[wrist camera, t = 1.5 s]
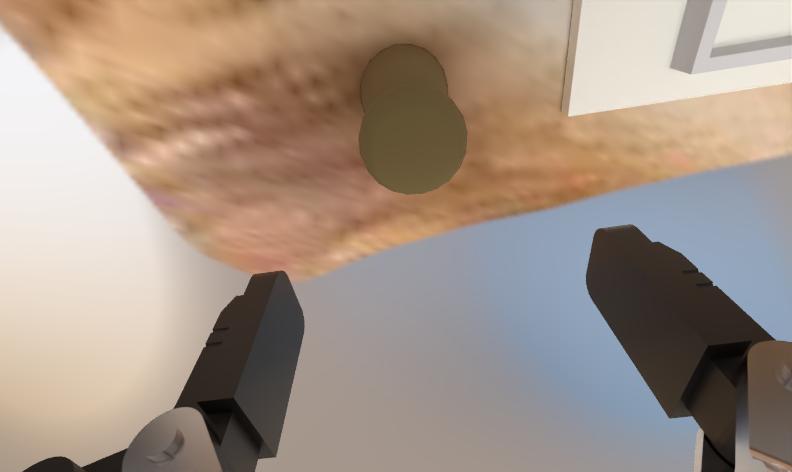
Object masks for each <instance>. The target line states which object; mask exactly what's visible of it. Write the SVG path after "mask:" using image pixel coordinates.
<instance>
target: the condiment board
mask: <svg viewBox="0 0 792 472" xmlns="http://www.w3.org/2000/svg"><path fill="white" fill-rule="evenodd" d="M785 83H792V0H574V1H573V10H572V19H571V28H570V37H569V46H568V55H567V64H566V73H565V82H564V91H563V100H562V109H561V112H563V113H564V114H565V115H567V116H568V117H569V116H576V115H582V114H589V113H595V112H602V111H608V110H615V109H621V108H628V107H634V106H641V105H648V104H654V103H661V102H667V101H674V100H680V99H687V98H693V97H700V96H706V95H713V94H720V93H726V92H733V91H739V90H746V89H752V88H759V87H765V86H772V85H778V84H785Z"/></svg>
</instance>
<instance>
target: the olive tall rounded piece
mask: <svg viewBox="0 0 792 472" xmlns="http://www.w3.org/2000/svg"><path fill="white" fill-rule="evenodd" d="M360 93H361V103H362V106H363V109H364V112H365V115H364V117H363V120H362V124H361V129H360V133H359V147H360V155H361V157H362V159H363V161H364V164H365V166H366V168H367V170H368V172H369V173H370V174H371V175H372V176H373V177H374V179H375V180H376V181H377V182H378V183H379V184H381V185H383V186H384V187H386V188H388V189H389V190H391V191H394V192H399V193H403V194H423V193H426V192H429V191H432V190H435V189H437V188H439V187H440V186H442V185H443V184H444V183H446V182H447V181H449V180H450V179H451V178H452V176H453V175H454V174H455V173H456V172H457V170H458V169H459V168H460V166H461V163H462V161H463V158H464V156H465V153H466V145H467V129H466V125H465V122H464V118H463V115H462V114H461V112H460V111H459V109H458V108H457V106H456V105H455V103H454V102H453V101H452V99H451V98H450V97H448V86H447V80H446V77H445V73H444V69H443V68H442V66H441V65H440V63H439V62H438V60H437V59H436V57H434V56H433V55H432V54H431V53H429V52H428V51H427V50H425V49H424V48H421V47H418V46H414V45H411V44H401V45H394V46H391V47H389V48H386V49H384V50H382V51H380V52H379V53H378V54H377V55H376V56H375V57H374V58H373V59H372V60H370V62H369V64H368V66H367V67H366V69H365V71H364V73H363V76H362V81H361V85H360Z"/></svg>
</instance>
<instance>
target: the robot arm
mask: <svg viewBox="0 0 792 472" xmlns="http://www.w3.org/2000/svg"><path fill="white" fill-rule="evenodd" d="M712 283H713V282H712V281H711V280H710V279H708V278H707V277H706V276H705V275H704V274H703V273H702V272H701V273H699V271H698V268H696V267H695V266H694V265H693V264H692V263H691V262H690V261H689V260H688V259H687V258H686V257H685V256H683V255H682V254H681V253H679V252H677V251H675V250H673V249H671V248H669V247H668V246H665V245H664V244H662V243H660V242H651V241H650V240H649V239H648V238H647V237H646V236H645V235H644V234H643V233H642V232H641V231H640V230H639V229H638V228H637V227H635V226H634V225H623V226H615V227H608V228H600V229H598V230H596V232H595V234H594V237H593V243H592V248H591V253H590V258H589V263H588V268H587V273H586V285H587V289H588V292H589V295H590V297H591V299H592V300H593V302H594V304H595V305H596V306H597V308H598V309H599V311H600V313H601V314H602V316H603V317H604V319H605V320H606V322H607V323H608V325H609V327H610V328H611V330H612V331H613V333H614V334H615V336H616V337H617V339H618V340H619V342H620V343H621V345H622V346H623V348H624V349H625V351H626V353H627V354H628V356H629V357H630V359H631V360H632V362H633V363H634V365H635V366H636V368H637V369H638V371H639V372H640V374H641V376H642V377H643V379H644V380H645V382H646V383H647V385H648V386H649V388H650V389H651V391H652V392H653V394H654V395H655V397H656V399H657V400H658V402H659V403H660V405H661V406H662V408H663V409H664V411H665V412H666V414H667V415H668V417H669V418H678V417H688V416H693V417H694V419H695V420H696V422H697V423H698V424H699V426H700V429H699V431H698V432H697V436H696V448H695V460H694V471H693V472H792V342H786V341H776V340H775V339H774V338H773V337H772V336H771V335H769V334H768V333H767V332H766V331H765V330H764V329H763V328H762V327H761V326H760V325H758V323H756V322H755V321H754V320H753V319H752V318H751V317H750V316H749V315H747V314H746V312H744V311H743V310H742V309H741V308H740V307H739V306H738V305H737V304H736V303H734V301H732V300H731V299H730V298H729V297H728V296H727V295H726V294H725V293H724V292H723V291H722V290H720V289H719V288H718V287H717V286H713V284H712ZM303 335H304V316H303V312H302V309H301V307H300V304H299V302H298V299H297V297H296V295H295V292H294V290H293V287H292V285H291V283H290V280H289V278H288V276H287V274H286V273H285V272H284V271H275V272H267V273H260V274H254V275H253V276H252V277H251V279H250V281H249V284H248V286H247V288H246V291H245V293H244V295H241V296H236V297H235V298H234V299H233V300H232V301H231V302H230V303H229V304H228V305H227V307H225V308H224V310H223V311H222V312H221V313H220V315H219V317H218V319H217V321H216V324H215V325H214V328H213V333H211V334H210V336H209V338H208V340H207V342H206V347H205V348H203V350H202V352H201V354H200V356H199V358H198V360H197V362H196V365H195V366H194V369H193V371H192V373H191V375H190V377H189V379H188V381H187V383H186V385H185V387H184V389H183V391H182V393H181V395H180V397H179V399H178V401H177V403H176V405H175V407H174V409H172V410H170V411H167V412H165V413H163V414H161V415H160V416H158V417H156V418H155V419H153V420H152V421H151V422H150V423H148V424H147V425H146V426H145V427H144V428H143V429H142V430H141V431H140V432H139V433H138V434H137V436H136V437H135V438H134V439H133V441H132V442H131V444H130V445H129V447H128V448H127V449H125V450H122V451H120V452H117V453H115V454H113V455H110V456H108V457H105V458H103V459H101V460H98V461H96V462H94V463H91V464H89V465H86V466H84V467H82V468H81V467H80V466H78V465H77V464H75V463H74V462H73V461H71V460H70V459H68V458H66V457H52V458H48V459H45V460H43V461H40V462H38V463H36V464H34V465H32V466H31V467H29V468H27V469H26V470H24V471H23V472H255V468H256V465H257V461H258V459H262V458H272V457H276V454H277V450H278V445H279V441H280V437H281V432H282V428H283V424H284V419H285V415H286V410H287V405H288V401H289V397H290V392H291V388H292V384H293V379H294V375H295V370H296V366H297V361H298V357H299V352H300V348H301V343H302V339H303Z"/></svg>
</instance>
